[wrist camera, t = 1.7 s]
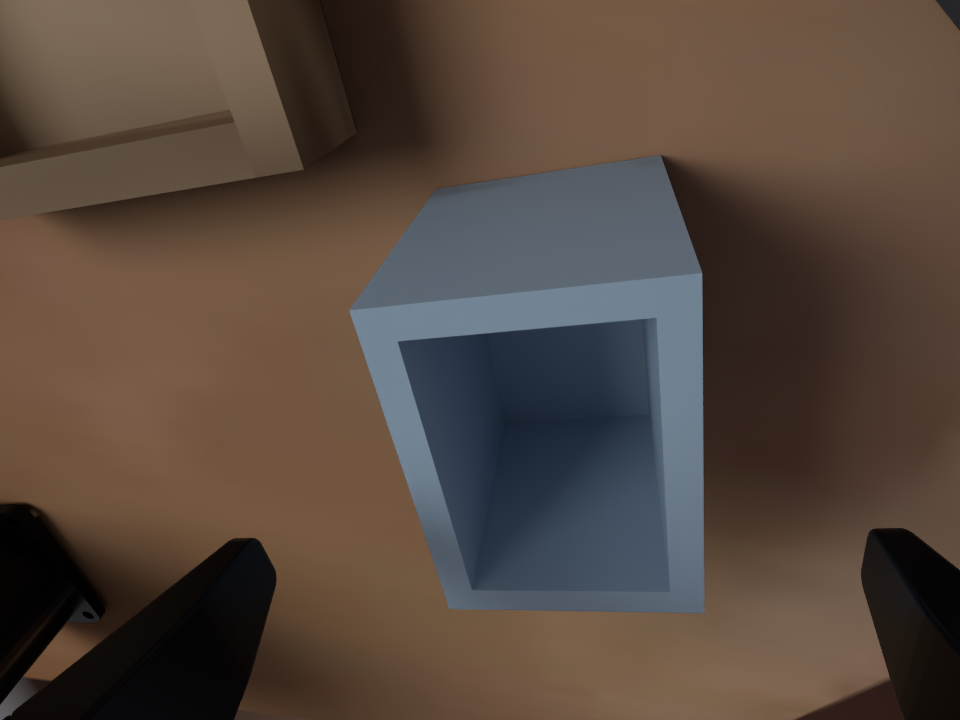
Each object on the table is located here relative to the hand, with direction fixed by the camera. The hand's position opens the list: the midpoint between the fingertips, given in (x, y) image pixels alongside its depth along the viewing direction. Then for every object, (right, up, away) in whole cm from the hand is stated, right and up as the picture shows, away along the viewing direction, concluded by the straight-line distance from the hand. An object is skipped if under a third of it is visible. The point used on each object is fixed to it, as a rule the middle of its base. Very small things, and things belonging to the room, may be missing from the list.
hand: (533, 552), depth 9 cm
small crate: (+1, +4, +6) cm, 8 cm away
